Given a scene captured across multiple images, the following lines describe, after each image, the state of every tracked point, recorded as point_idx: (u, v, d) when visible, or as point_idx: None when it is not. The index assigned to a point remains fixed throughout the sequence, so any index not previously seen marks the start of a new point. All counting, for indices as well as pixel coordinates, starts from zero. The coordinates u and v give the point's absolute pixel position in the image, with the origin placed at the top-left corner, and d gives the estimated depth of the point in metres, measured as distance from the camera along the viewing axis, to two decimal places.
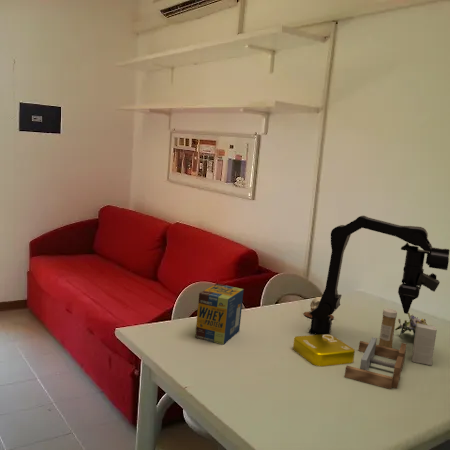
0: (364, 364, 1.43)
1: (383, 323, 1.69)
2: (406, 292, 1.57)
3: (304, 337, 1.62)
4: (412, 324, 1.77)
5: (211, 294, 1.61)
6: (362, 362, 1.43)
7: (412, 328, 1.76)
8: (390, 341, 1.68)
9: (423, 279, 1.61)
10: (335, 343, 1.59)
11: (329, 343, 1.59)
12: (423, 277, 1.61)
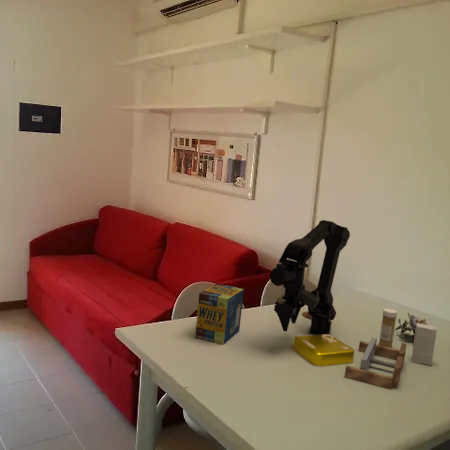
0: (364, 364, 1.43)
1: (383, 323, 1.69)
2: (281, 310, 1.54)
3: (304, 337, 1.62)
4: (412, 324, 1.77)
5: (211, 294, 1.61)
6: (362, 362, 1.43)
7: (412, 328, 1.76)
8: (390, 341, 1.68)
9: (301, 296, 1.58)
10: (335, 343, 1.60)
11: (329, 343, 1.59)
12: (302, 294, 1.58)
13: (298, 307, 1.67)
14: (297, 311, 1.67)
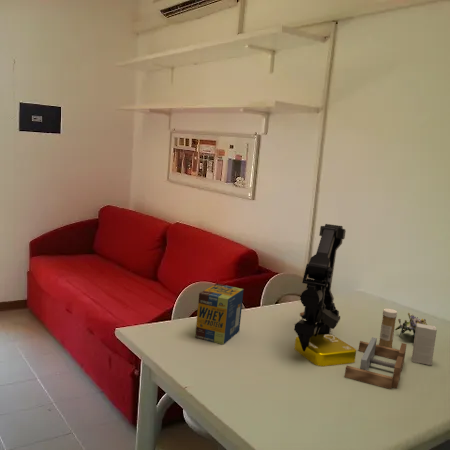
0: (364, 364, 1.43)
1: (383, 323, 1.69)
2: (301, 330, 1.51)
3: None
4: (412, 324, 1.77)
5: (211, 294, 1.61)
6: (362, 362, 1.43)
7: (412, 328, 1.76)
8: (390, 341, 1.68)
9: (322, 316, 1.55)
10: (336, 343, 1.60)
11: (330, 343, 1.59)
12: (322, 314, 1.56)
13: (317, 326, 1.64)
14: (316, 330, 1.64)
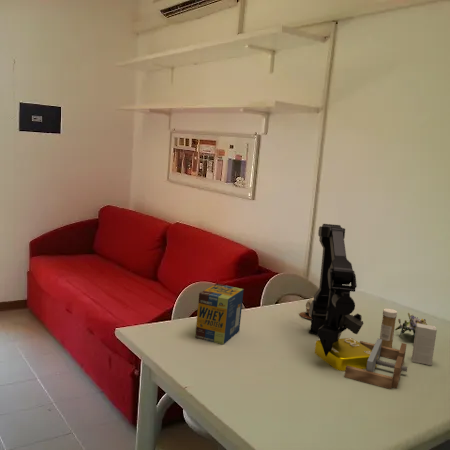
0: (370, 366, 1.43)
1: (383, 323, 1.69)
2: (325, 335, 1.49)
3: None
4: (412, 324, 1.77)
5: (211, 294, 1.61)
6: (368, 364, 1.43)
7: (412, 328, 1.76)
8: (390, 341, 1.68)
9: (345, 321, 1.53)
10: (358, 347, 1.57)
11: (351, 347, 1.57)
12: (345, 319, 1.53)
13: (339, 331, 1.61)
14: None
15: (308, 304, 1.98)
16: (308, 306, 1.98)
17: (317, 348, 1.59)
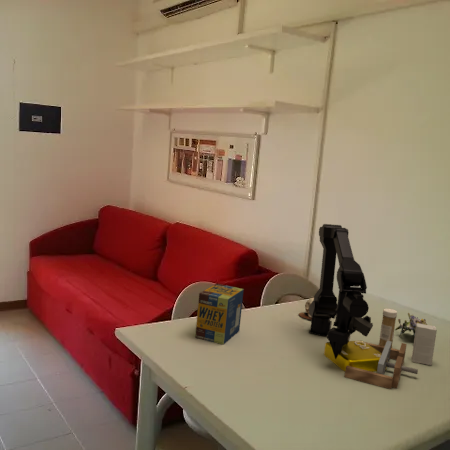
0: (381, 368, 1.41)
1: (383, 323, 1.69)
2: (335, 338, 1.47)
3: None
4: (412, 324, 1.77)
5: (211, 294, 1.61)
6: (379, 366, 1.42)
7: (412, 328, 1.76)
8: None
9: (355, 323, 1.51)
10: (367, 350, 1.56)
11: (361, 350, 1.56)
12: (355, 321, 1.52)
13: (348, 333, 1.60)
14: None
15: (307, 304, 1.97)
16: (307, 306, 1.97)
17: (326, 350, 1.58)
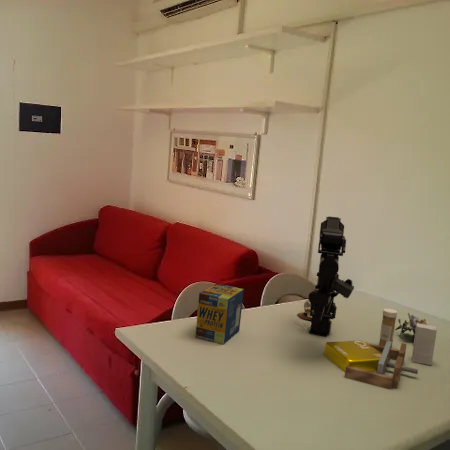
0: (381, 368, 1.41)
1: (383, 323, 1.69)
2: (316, 299, 1.50)
3: (335, 343, 1.60)
4: (412, 324, 1.77)
5: (211, 294, 1.61)
6: (379, 366, 1.42)
7: (412, 328, 1.76)
8: None
9: (336, 285, 1.54)
10: (367, 350, 1.56)
11: (361, 350, 1.56)
12: (336, 283, 1.54)
13: (330, 297, 1.62)
14: (329, 301, 1.63)
15: (306, 304, 1.97)
16: (306, 306, 1.97)
17: (326, 350, 1.58)
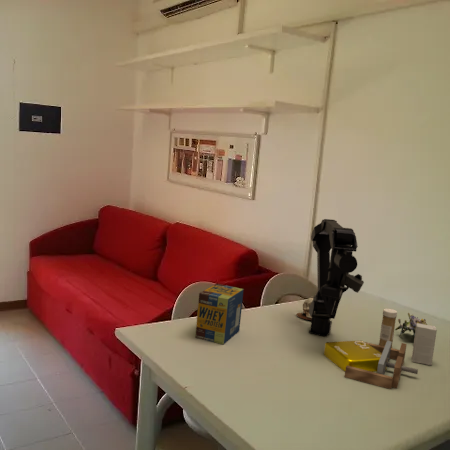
0: (381, 368, 1.41)
1: (383, 323, 1.69)
2: (327, 293, 1.55)
3: (335, 343, 1.60)
4: (412, 324, 1.77)
5: (211, 294, 1.61)
6: (379, 366, 1.42)
7: (412, 328, 1.76)
8: None
9: (346, 280, 1.59)
10: (367, 350, 1.56)
11: (361, 350, 1.56)
12: (346, 278, 1.60)
13: None
14: None
15: (305, 304, 1.97)
16: (305, 306, 1.97)
17: (326, 350, 1.58)
